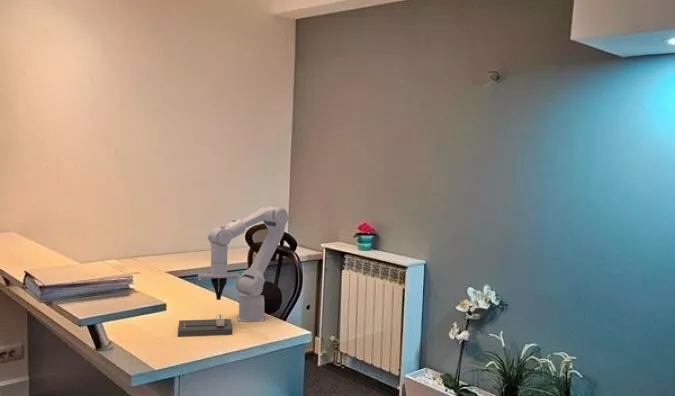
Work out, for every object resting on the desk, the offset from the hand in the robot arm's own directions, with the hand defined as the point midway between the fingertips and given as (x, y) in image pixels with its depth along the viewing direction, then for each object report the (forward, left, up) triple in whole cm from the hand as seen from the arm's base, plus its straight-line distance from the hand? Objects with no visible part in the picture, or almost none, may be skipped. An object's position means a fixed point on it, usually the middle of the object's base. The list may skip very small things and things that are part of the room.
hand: (218, 299), depth 212 cm
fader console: (+5, +6, -9) cm, 12 cm away
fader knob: (0, +7, -7) cm, 10 cm away
